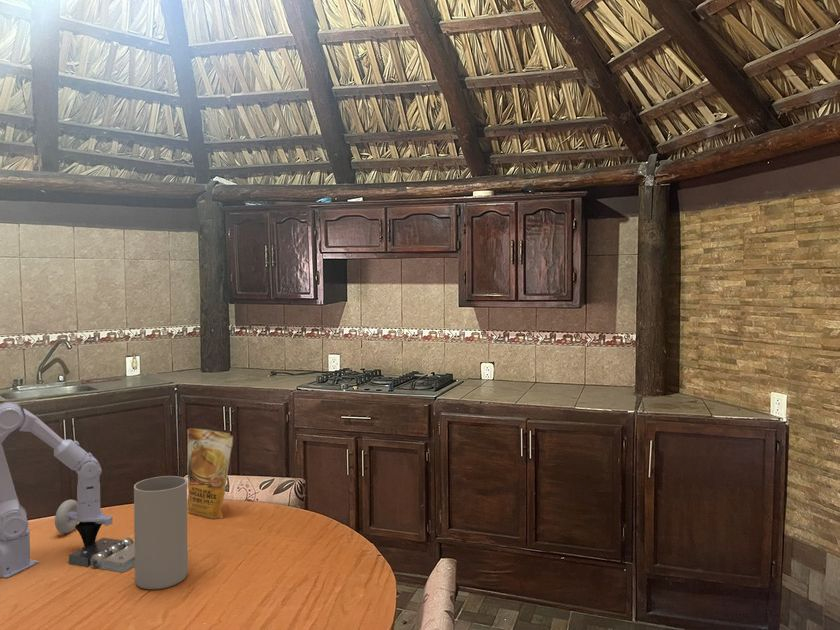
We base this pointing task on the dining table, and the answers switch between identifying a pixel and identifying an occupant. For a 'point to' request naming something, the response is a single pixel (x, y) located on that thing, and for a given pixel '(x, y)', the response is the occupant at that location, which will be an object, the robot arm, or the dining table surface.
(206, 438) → the pancake mix bag
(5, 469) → the robot arm
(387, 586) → the dining table surface
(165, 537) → the cylinder vase
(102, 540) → the gunmetal leaf
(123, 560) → the steel leaf
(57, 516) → the donut
